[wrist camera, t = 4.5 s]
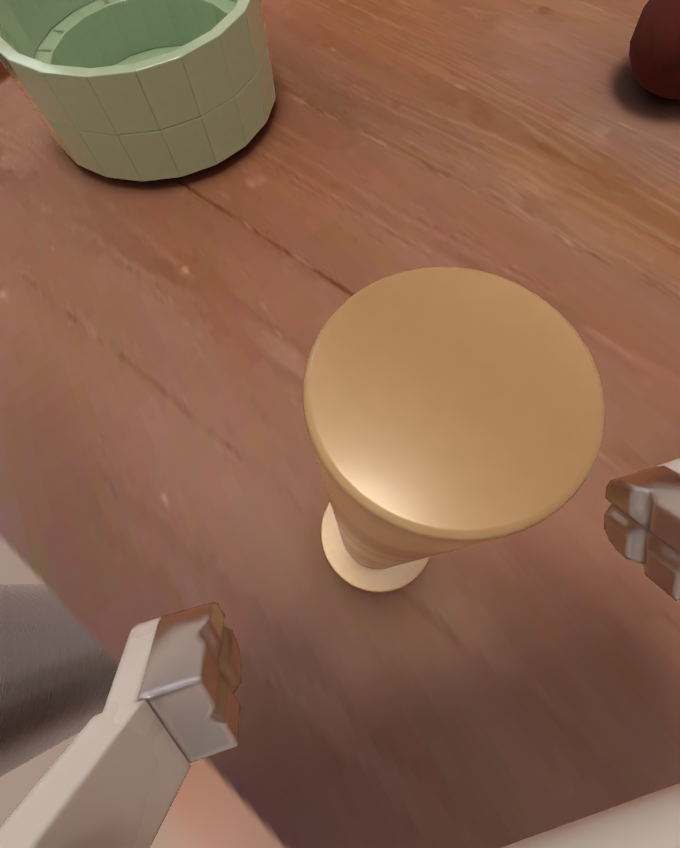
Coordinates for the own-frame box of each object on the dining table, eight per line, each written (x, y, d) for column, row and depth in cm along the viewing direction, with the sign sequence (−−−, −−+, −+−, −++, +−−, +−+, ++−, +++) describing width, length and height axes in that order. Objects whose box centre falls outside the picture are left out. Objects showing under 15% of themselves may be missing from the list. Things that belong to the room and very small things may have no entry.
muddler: (373, 612, 18) (478, 807, 3) (305, 535, 19) (123, 376, 4) (443, 540, 19) (804, 391, 4) (374, 470, 20) (437, 146, 5)
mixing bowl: (136, 227, 26) (69, 119, 20) (20, 110, 30) (-65, -10, 24) (321, 107, 29) (312, -18, 23) (193, 17, 33) (157, -109, 27)
